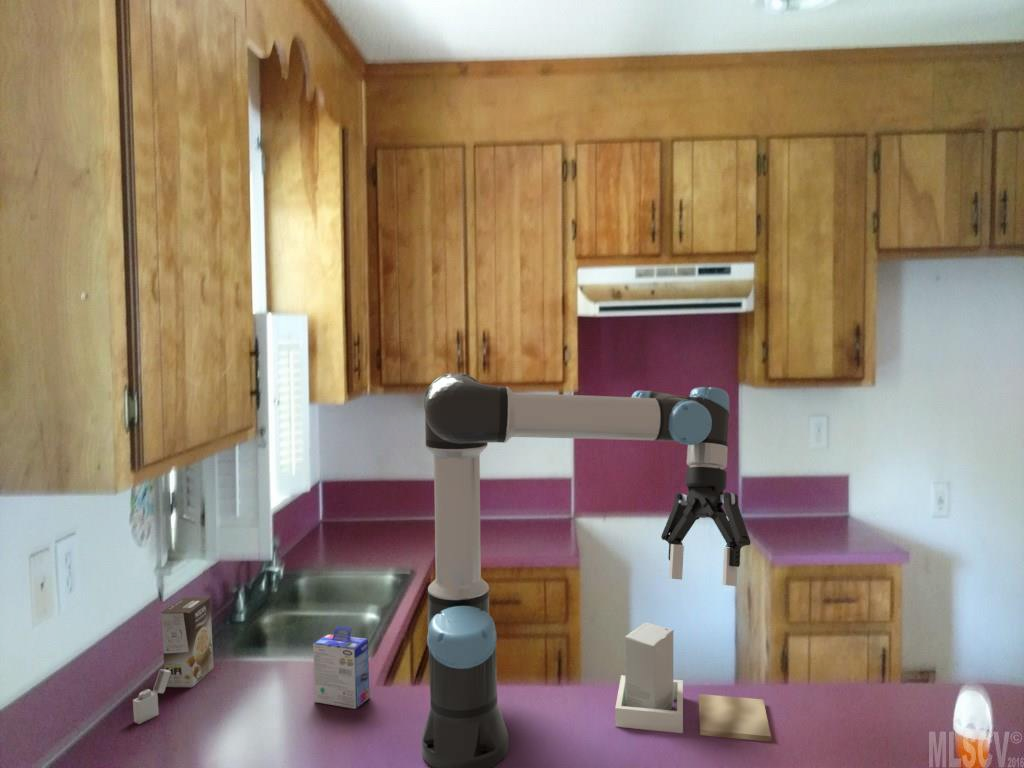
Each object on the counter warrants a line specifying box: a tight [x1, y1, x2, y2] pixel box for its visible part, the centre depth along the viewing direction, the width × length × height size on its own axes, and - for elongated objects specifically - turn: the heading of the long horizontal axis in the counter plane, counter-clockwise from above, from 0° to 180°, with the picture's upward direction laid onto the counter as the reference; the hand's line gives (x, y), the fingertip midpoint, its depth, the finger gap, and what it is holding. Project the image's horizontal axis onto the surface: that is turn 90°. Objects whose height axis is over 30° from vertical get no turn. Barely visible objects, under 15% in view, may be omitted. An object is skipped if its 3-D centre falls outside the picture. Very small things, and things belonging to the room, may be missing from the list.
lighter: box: [132, 668, 171, 725], centre depth 144 cm, size 7×2×8 cm, turn 148°
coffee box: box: [160, 596, 214, 688], centre depth 159 cm, size 9×6×16 cm
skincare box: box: [624, 621, 674, 711], centre depth 140 cm, size 8×7×16 cm
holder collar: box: [614, 674, 684, 734], centre depth 140 cm, size 12×13×4 cm
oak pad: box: [698, 693, 772, 743], centre depth 137 cm, size 12×13×1 cm
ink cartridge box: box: [312, 625, 371, 710], centre depth 147 cm, size 10×6×14 cm, turn 71°
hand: (701, 582), depth 138 cm, fingers open, 13 cm apart
